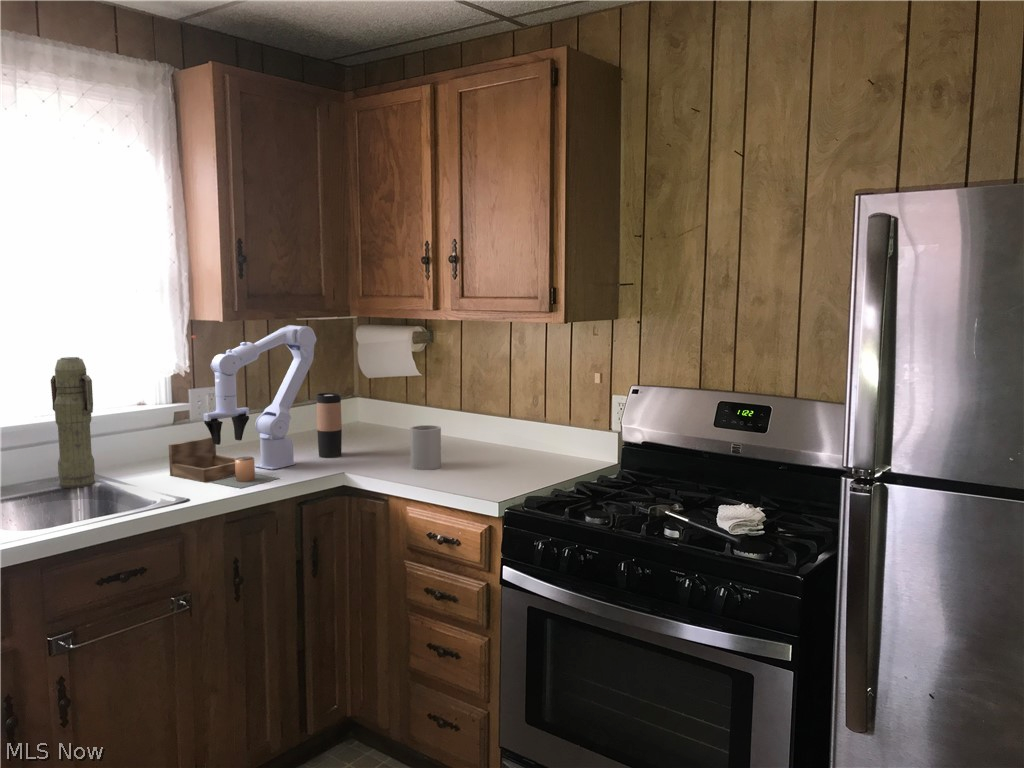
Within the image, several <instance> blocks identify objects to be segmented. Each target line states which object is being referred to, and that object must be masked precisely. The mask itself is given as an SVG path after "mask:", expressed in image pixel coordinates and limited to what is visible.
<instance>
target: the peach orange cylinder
mask: <svg viewBox="0 0 1024 768" xmlns="http://www.w3.org/2000/svg"><path fill="white" fill-rule="evenodd" d="M255 465H256V464H255V457H253V456H247V455H246V456H239V457H236V459H235V473H236V475H235V477H236V481H237V482H249V481H253V480H255V473H256V469H255V468H256V467H255Z"/></svg>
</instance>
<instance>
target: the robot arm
mask: <svg viewBox="0 0 1024 768" xmlns="http://www.w3.org/2000/svg"><path fill="white" fill-rule="evenodd" d="M317 340H318V339H317V337H316V334H315V332H314V330H313V328H312V327H310V326H308V325H303V326H302V325H294V324H293V325H292V324H288V325H286V326H284V327H280V328H279V329H278V330H275V331H274V332H273V333H270V334H268V335H267V336H265V337H264V338H262V339H261V338H260V340H258V341H256V342H254V343H252V342H250V341H247V342H245V341H243V342H240V343H239V344H240V345H239V346H237V347H235V348H233V349H227V350H226V351H225V353H218V354H217V355H215V356H214V357H213V359H212V360H211V363H210V369H211V370H212V372H213V373H214V385H215V388H214V389H215V410H213V411H210V412H207V413H206V412H205V413H203V421H204V425H205V426H206V428H207V429H208V431H209V434H210V437H212V439H213V443H214V444H216V445H218V446H219V445H221V435H222V434H221V433H222V426H223V421H222V420H221V421H220V420H219V419H226V418H231V421H232V425H233V433H234V440H235V441H239V442H240V441H242V439H243V435H244V432H245V428H246V425H247V424H248V422H249V420H250V416H249V415H250V408H249V407H238V401H237V399H238V398H237V375H236V374H237V373H238V371H239V370H240V369H241V368H242V367H245V366H247V365H249V364H251V363H253V362H256V361H257V360H258V359H259V356H260V354H261V353H264V352H267V351H268V350H270V349H272V348H275V347H277V346H280V345H283V344H285V345H286V347H287V348H288V350H290V352H291V355H292V357H293V360H292V361H291V364H290V366H289V368H288V370H287V372H286V374H285V376H284V378H283V380H282V383H281V384H280V387H278V390H277V393H276V395H275V396H274V399H273V401H272V403H271V404H269V406H267V407H265V409H264V410H263V412H262V413H261V414H260V415H259V416H258V417H257V418H256V419H255V420H256V421H255V425H254V426H255V430H256V431H257V432H258V433H259V443H260V444H259V445H260V446H259V447H260V448H259V449H260V463H259V464H254V465H255V468H258V469H259V468H260V469H266V470H270V471H271V470H277V469H282V468H285V467H291V466H293V465H296V462H294V443H293V440H292V438H291V437H290V436H289V435H287V434H288V432H289V429H290V421H291V419H292V417H291V414H290V409H291V408H292V405H293V403H294V401H295V399H296V398H297V395H298V393H299V391H300V388H301V386H302V385H303V382H304V380H305V379H306V375H307V373H309V372H308V371H309V370H310V368H311V365H312V363H313V361H314V358H315V357H314V356H315V355H314V354H315V352H314V351H315V345H316V342H317Z"/></svg>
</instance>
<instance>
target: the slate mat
mask: <svg viewBox="0 0 1024 768" xmlns="http://www.w3.org/2000/svg"><path fill="white" fill-rule="evenodd" d="M280 479H281V477H277V476H273V475H266V474H262V473H261V474H260V473H256V472H255V480H253V481H249V482H237V481H236V476H231V477H226V478H222V479H218V480H216V481H215V480H214V481H212V482H211V483H212V484H216V485H220V486H224V487H225V486H226V487H232V488H234V489H235V488H236V489H245V488H248V487H252V486H256V485H260V484H264V483H269V482H271V481H272V482H273V481H277V480H280Z"/></svg>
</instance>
